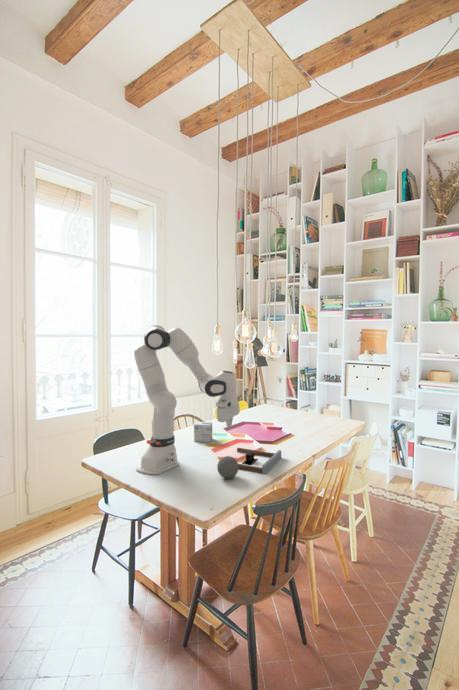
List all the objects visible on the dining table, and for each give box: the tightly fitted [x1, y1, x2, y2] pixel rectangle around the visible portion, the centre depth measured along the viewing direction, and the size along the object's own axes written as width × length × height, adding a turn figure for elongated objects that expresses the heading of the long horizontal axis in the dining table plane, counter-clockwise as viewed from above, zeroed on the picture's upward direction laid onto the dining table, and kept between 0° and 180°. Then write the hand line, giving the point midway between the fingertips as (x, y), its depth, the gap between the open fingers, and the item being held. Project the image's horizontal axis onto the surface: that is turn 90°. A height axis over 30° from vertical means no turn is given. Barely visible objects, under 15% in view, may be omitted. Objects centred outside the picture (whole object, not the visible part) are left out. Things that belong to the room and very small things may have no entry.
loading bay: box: [236, 447, 282, 475], centre depth 193 cm, size 24×26×4 cm
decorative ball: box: [216, 455, 239, 480], centre depth 173 cm, size 10×10×10 cm
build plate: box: [241, 453, 259, 466], centre depth 193 cm, size 12×7×5 cm, turn 153°
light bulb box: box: [193, 421, 213, 443], centre depth 228 cm, size 11×7×11 cm, turn 84°
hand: (229, 426), depth 197 cm, fingers closed
